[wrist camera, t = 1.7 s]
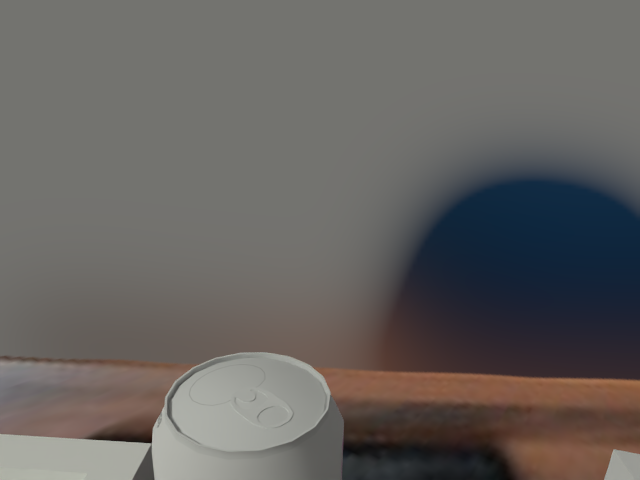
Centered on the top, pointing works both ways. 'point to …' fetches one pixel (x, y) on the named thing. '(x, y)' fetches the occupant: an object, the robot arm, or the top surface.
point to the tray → (73, 459)
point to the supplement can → (249, 422)
